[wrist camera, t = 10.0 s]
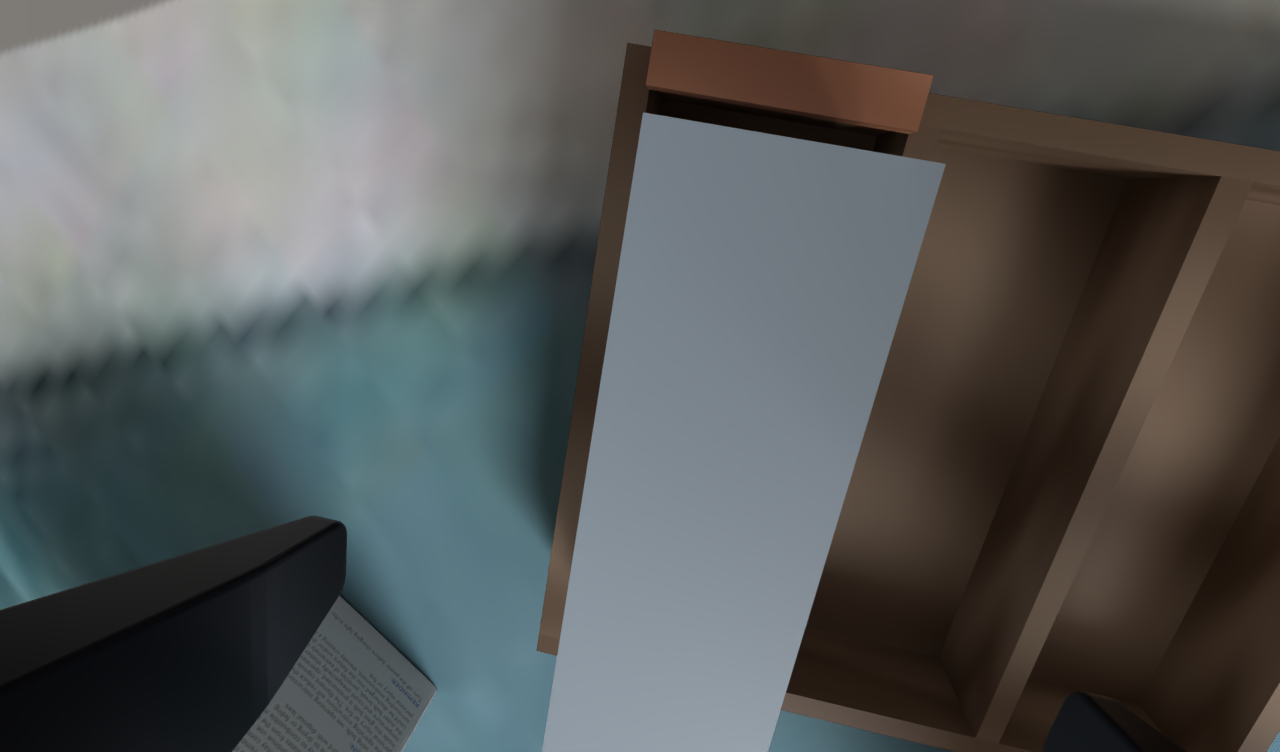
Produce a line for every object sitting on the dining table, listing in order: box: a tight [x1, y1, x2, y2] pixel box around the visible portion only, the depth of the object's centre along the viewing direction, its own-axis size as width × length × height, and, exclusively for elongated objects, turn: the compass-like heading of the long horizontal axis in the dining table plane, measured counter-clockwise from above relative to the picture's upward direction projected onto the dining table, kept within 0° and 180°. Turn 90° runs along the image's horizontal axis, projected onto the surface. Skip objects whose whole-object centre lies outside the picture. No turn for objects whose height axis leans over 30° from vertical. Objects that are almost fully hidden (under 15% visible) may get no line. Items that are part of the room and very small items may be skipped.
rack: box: [537, 30, 1280, 752], centre depth 16 cm, size 16×19×4 cm
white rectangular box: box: [542, 112, 946, 752], centre depth 14 cm, size 12×4×8 cm, turn 171°
